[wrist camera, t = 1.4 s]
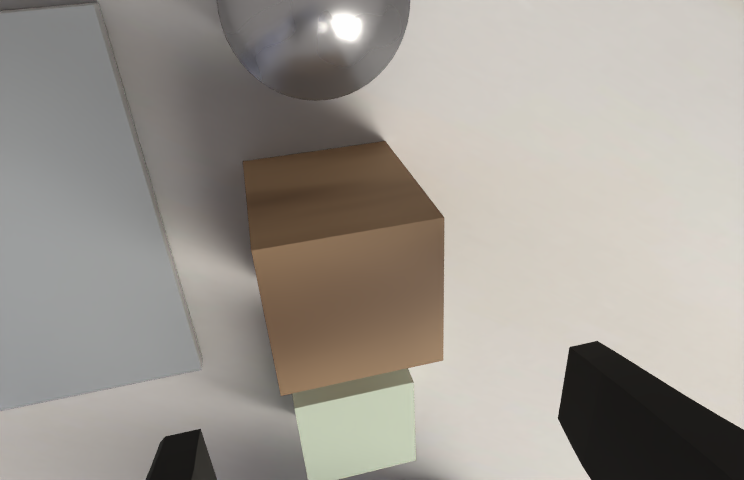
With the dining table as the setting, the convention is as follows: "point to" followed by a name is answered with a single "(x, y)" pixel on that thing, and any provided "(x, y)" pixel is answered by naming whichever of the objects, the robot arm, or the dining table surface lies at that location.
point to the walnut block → (345, 264)
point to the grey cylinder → (314, 42)
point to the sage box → (357, 425)
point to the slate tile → (78, 221)
